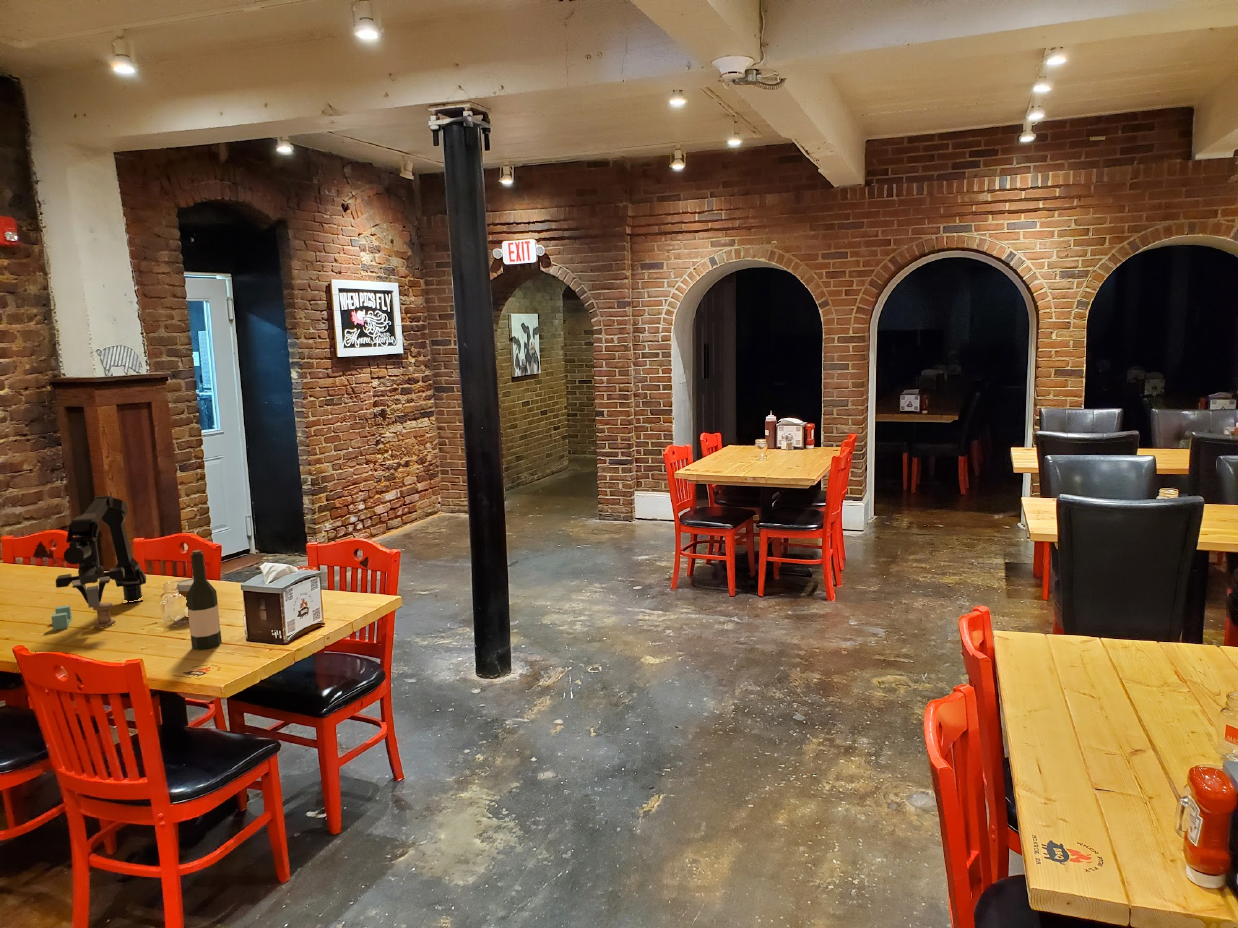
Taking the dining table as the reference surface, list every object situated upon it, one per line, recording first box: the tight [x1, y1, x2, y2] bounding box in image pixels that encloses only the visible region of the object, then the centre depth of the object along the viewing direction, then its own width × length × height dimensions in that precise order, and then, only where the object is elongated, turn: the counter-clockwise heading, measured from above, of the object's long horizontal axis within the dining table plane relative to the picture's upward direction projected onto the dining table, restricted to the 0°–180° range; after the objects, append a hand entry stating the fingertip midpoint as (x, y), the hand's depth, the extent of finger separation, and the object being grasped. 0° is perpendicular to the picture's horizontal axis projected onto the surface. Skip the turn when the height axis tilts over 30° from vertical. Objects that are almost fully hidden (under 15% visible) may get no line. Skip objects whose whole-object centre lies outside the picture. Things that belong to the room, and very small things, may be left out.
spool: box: [92, 602, 116, 629], centre depth 279 cm, size 6×6×7 cm
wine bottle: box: [186, 549, 223, 651], centre depth 255 cm, size 8×8×30 cm
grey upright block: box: [86, 585, 101, 609], centre depth 272 cm, size 4×3×6 cm
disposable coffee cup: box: [175, 577, 194, 606], centre depth 287 cm, size 10×10×12 cm
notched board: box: [51, 604, 73, 632], centre depth 281 cm, size 12×4×5 cm, turn 27°
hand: (94, 602), depth 273 cm, fingers closed on grey upright block, 3 cm apart
